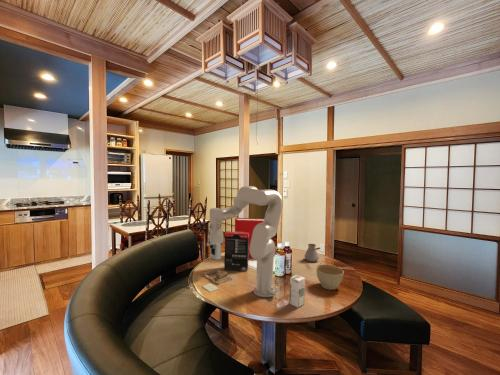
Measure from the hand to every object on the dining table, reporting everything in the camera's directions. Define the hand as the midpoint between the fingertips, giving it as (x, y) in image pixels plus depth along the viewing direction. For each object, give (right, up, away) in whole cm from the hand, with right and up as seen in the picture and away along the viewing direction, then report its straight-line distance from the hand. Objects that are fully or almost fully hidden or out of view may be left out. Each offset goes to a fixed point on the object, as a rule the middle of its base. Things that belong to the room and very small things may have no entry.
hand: (215, 253), depth 155 cm
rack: (+1, -16, -1) cm, 16 cm away
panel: (0, -3, 0) cm, 3 cm away
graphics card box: (+13, -15, +13) cm, 24 cm away
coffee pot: (+74, -16, +29) cm, 81 cm away
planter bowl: (+72, -17, -12) cm, 75 cm away
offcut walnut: (+5, -14, -5) cm, 15 cm away
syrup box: (+48, -18, -32) cm, 61 cm away
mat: (-1, -16, -16) cm, 23 cm away
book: (+24, -14, +40) cm, 49 cm away
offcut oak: (+5, -16, -5) cm, 18 cm away
